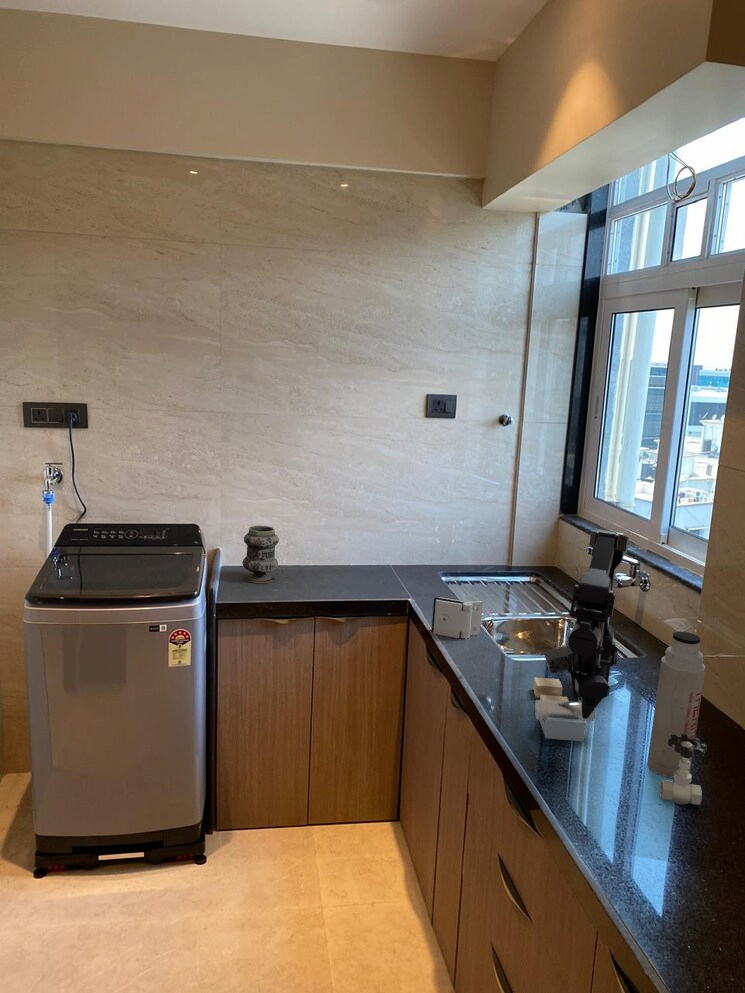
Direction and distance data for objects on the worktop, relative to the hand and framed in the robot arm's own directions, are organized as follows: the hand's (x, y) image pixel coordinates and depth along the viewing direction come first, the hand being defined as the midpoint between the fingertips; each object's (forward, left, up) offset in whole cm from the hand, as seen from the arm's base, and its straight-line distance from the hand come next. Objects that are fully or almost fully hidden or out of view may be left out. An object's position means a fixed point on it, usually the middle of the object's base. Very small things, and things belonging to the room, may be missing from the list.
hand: (580, 708), depth 160 cm
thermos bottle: (-15, +12, -6) cm, 20 cm away
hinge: (+24, -53, -6) cm, 58 cm away
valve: (-13, +24, -6) cm, 28 cm away
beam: (+4, -13, -6) cm, 15 cm away
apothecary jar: (+89, -91, -6) cm, 127 cm away
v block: (+4, 0, -6) cm, 7 cm away
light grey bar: (+3, 0, -3) cm, 4 cm away
